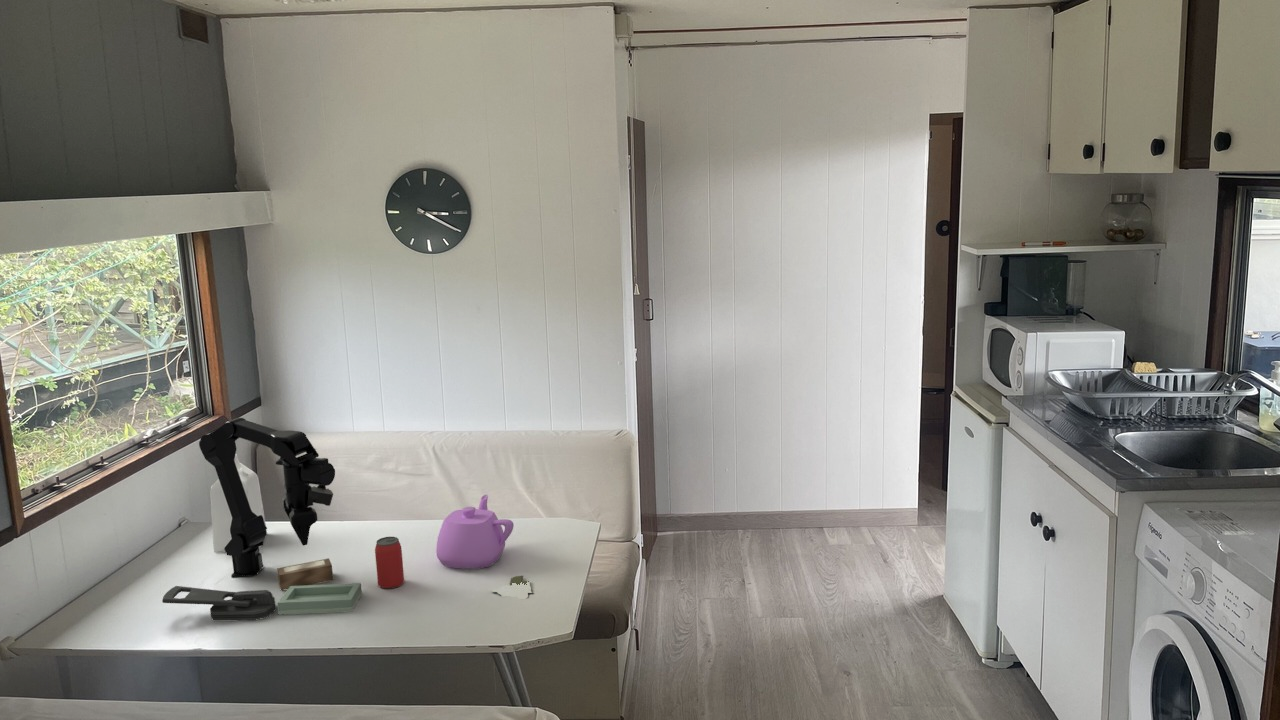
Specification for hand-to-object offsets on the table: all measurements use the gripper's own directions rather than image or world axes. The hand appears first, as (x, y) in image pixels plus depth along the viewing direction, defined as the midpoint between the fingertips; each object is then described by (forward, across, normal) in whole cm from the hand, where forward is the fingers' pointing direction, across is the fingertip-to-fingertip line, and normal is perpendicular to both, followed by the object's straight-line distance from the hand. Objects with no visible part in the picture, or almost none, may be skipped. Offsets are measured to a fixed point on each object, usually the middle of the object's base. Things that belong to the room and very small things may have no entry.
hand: (302, 539), depth 245 cm
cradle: (+12, -16, -1) cm, 20 cm away
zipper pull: (+12, -9, +21) cm, 26 cm away
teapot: (+12, -9, -42) cm, 45 cm away
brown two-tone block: (+12, 0, 0) cm, 12 cm away
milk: (+12, +39, +12) cm, 43 cm away
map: (+12, -36, -44) cm, 58 cm away
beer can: (+12, -14, -19) cm, 26 cm away
